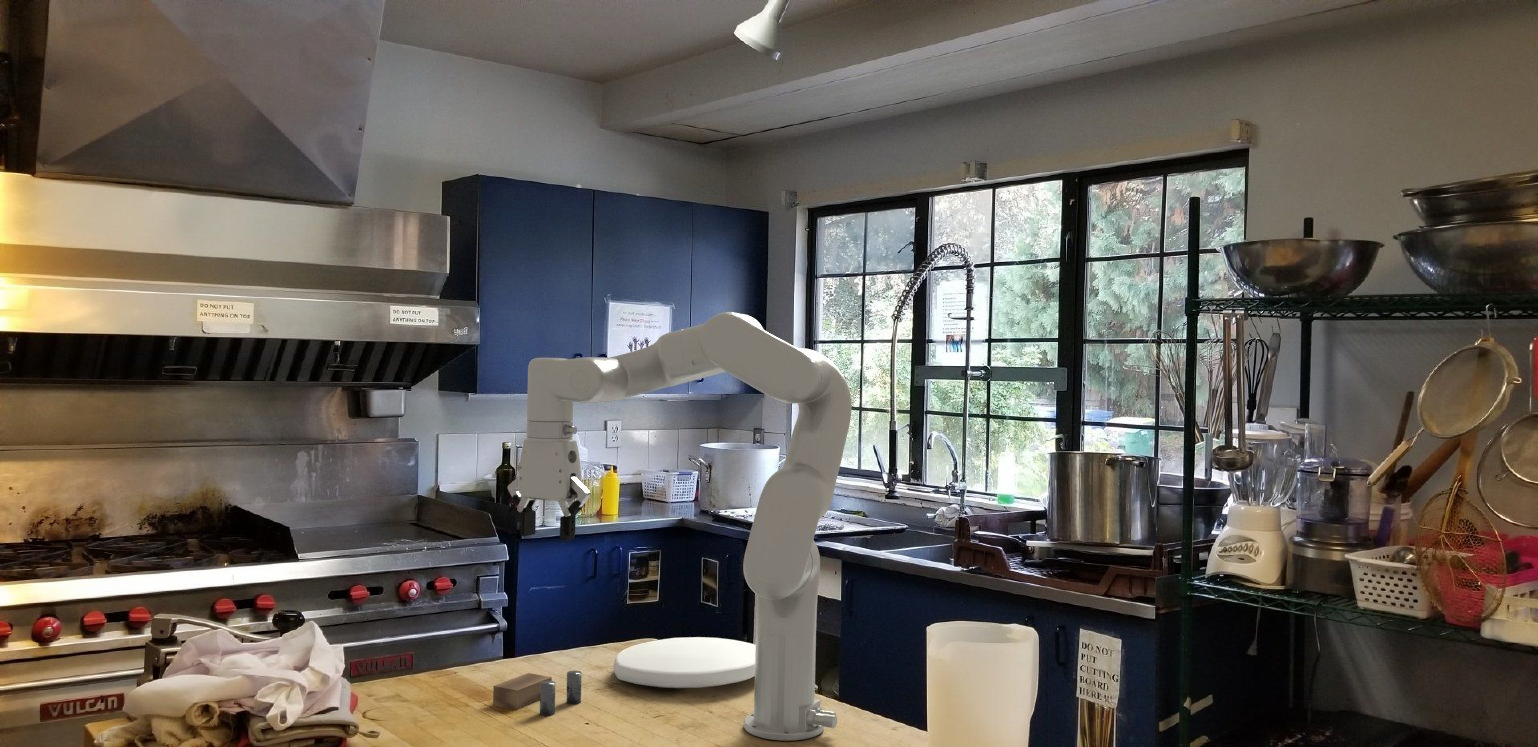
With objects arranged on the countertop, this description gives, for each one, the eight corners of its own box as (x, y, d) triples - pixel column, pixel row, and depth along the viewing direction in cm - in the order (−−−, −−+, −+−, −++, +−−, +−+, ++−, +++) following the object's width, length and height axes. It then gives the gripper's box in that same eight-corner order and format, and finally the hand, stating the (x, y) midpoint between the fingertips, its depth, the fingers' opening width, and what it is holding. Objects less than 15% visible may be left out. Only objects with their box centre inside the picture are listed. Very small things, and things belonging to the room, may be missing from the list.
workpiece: (551, 697, 188) (551, 677, 188) (516, 711, 180) (517, 690, 180) (528, 692, 190) (528, 672, 190) (493, 706, 182) (493, 685, 182)
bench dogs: (583, 701, 185) (584, 671, 185) (548, 716, 177) (549, 685, 177) (572, 699, 186) (572, 669, 186) (536, 714, 178) (537, 683, 178)
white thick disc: (590, 664, 191) (641, 630, 217) (593, 701, 191) (643, 663, 217) (746, 659, 185) (778, 625, 211) (749, 698, 185) (781, 659, 211)
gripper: (605, 433, 182) (603, 539, 182) (523, 428, 190) (521, 530, 190) (578, 435, 175) (575, 545, 175) (493, 430, 183) (491, 535, 183)
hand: (547, 536), depth 183 cm, fingers open, 7 cm apart
